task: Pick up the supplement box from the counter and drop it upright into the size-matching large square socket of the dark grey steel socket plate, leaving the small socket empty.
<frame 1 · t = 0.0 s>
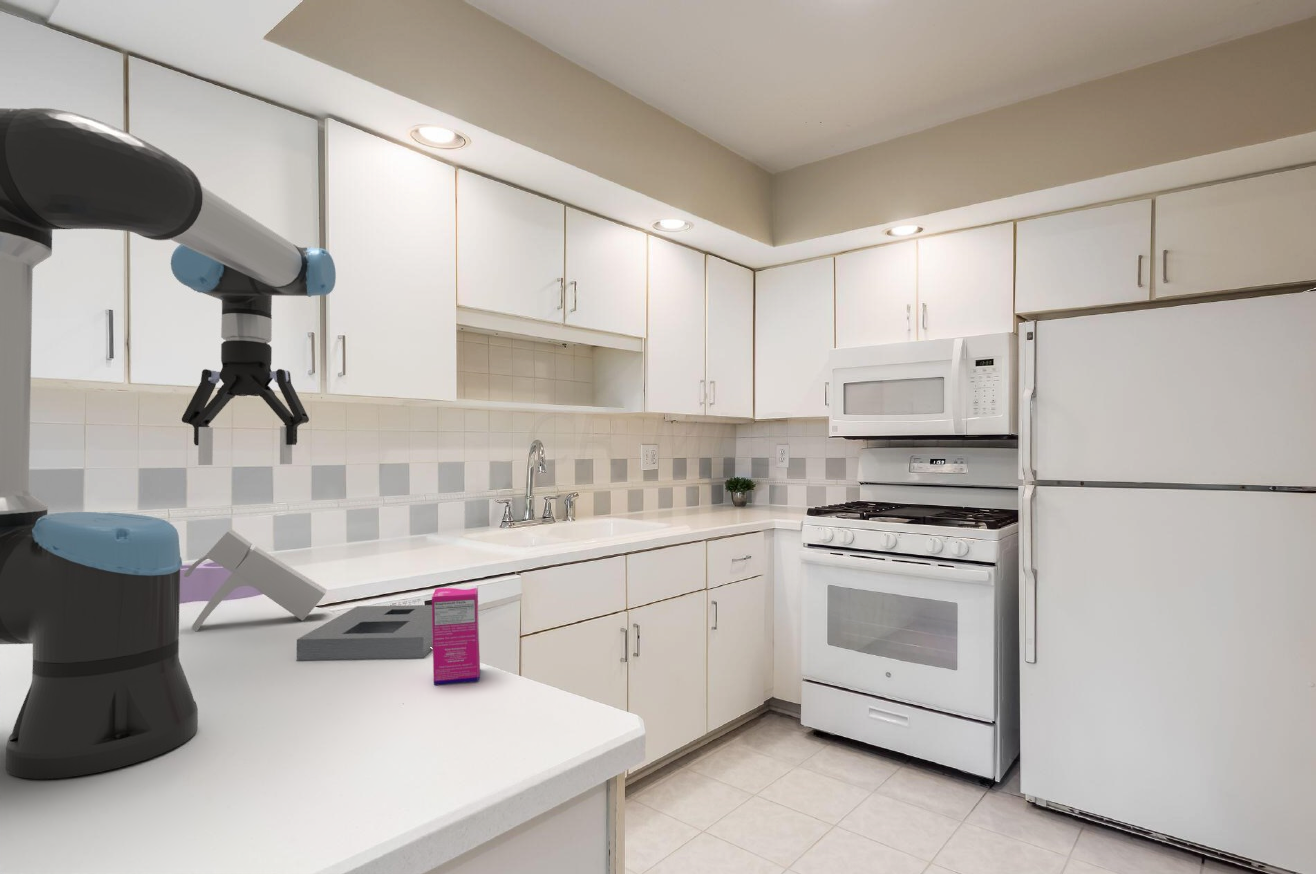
hand: (245, 464, 119), 28 cm above the worktop, tool pointing down, fingers open, 13 cm apart
clip: (215, 598, 146), on the worktop
supplement box: (456, 678, 91), on the worktop
socket plate: (387, 639, 110), on the worktop
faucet: (258, 624, 122), on the worktop
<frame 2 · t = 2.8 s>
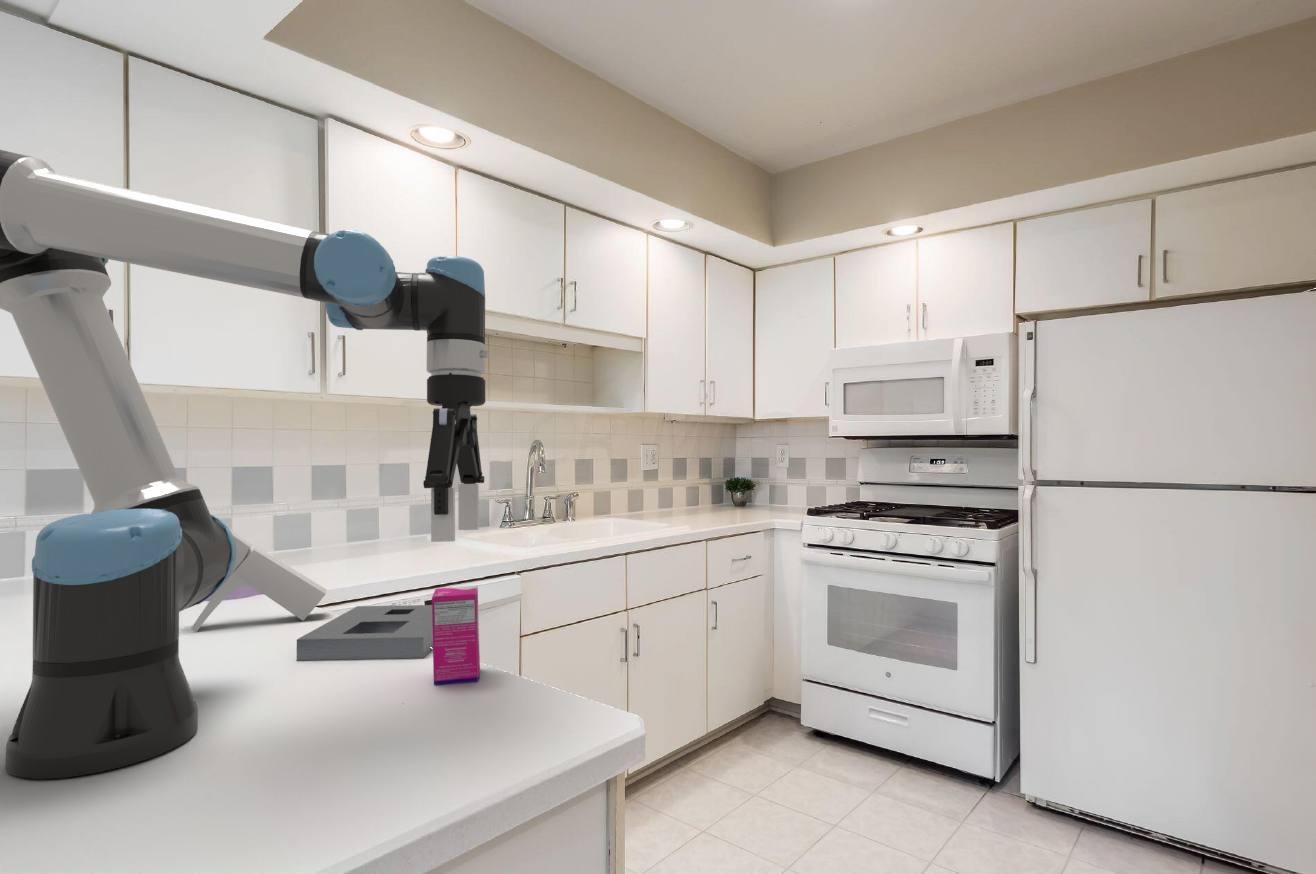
hand: (456, 535, 92), 19 cm above the worktop, tool pointing down, fingers open, 13 cm apart
nothing on the worktop moved.
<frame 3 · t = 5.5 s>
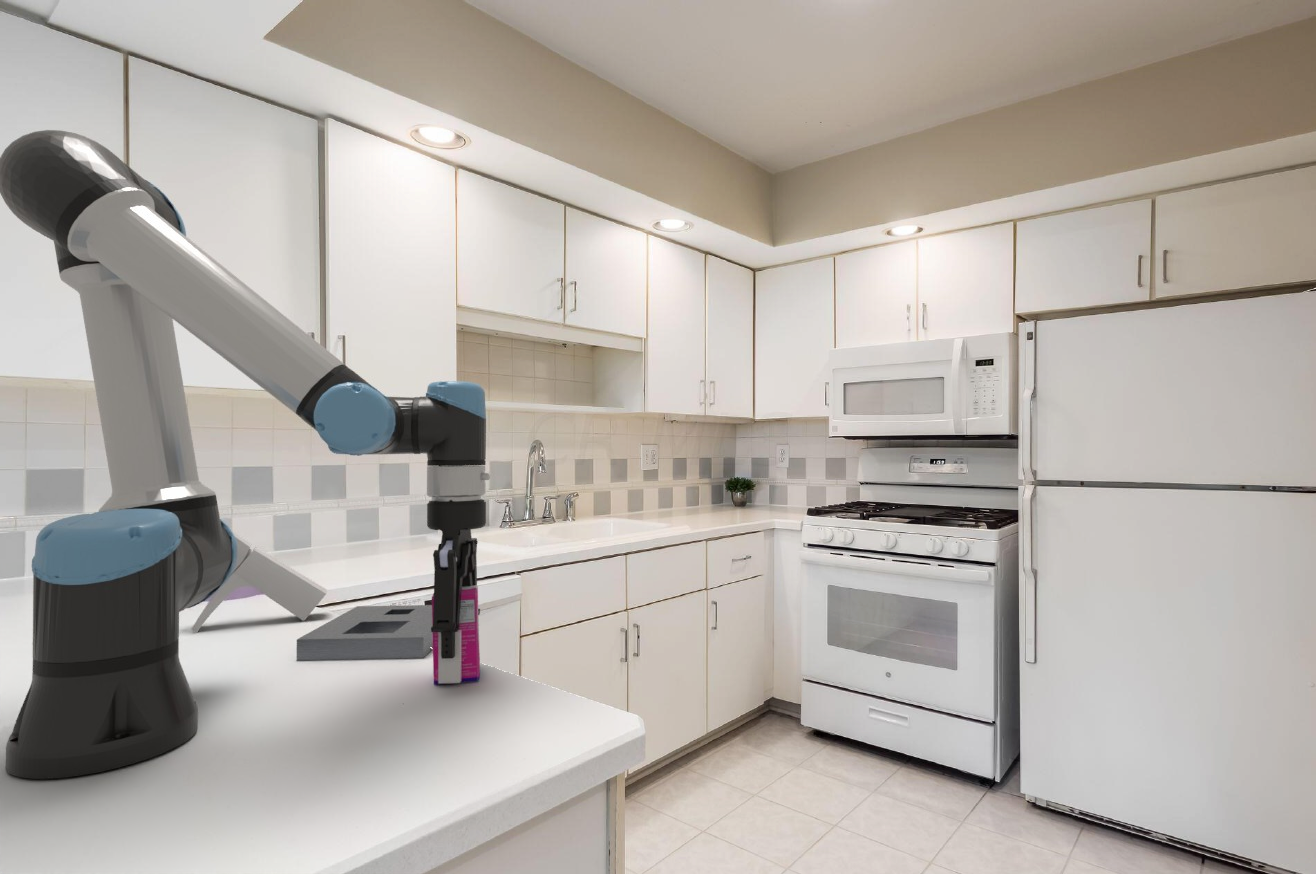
hand: (456, 673, 91), 0 cm above the worktop, tool pointing down, fingers closed on supplement box, 6 cm apart
supplement box: (456, 678, 91), on the worktop, touching gripper
everything else where it was.
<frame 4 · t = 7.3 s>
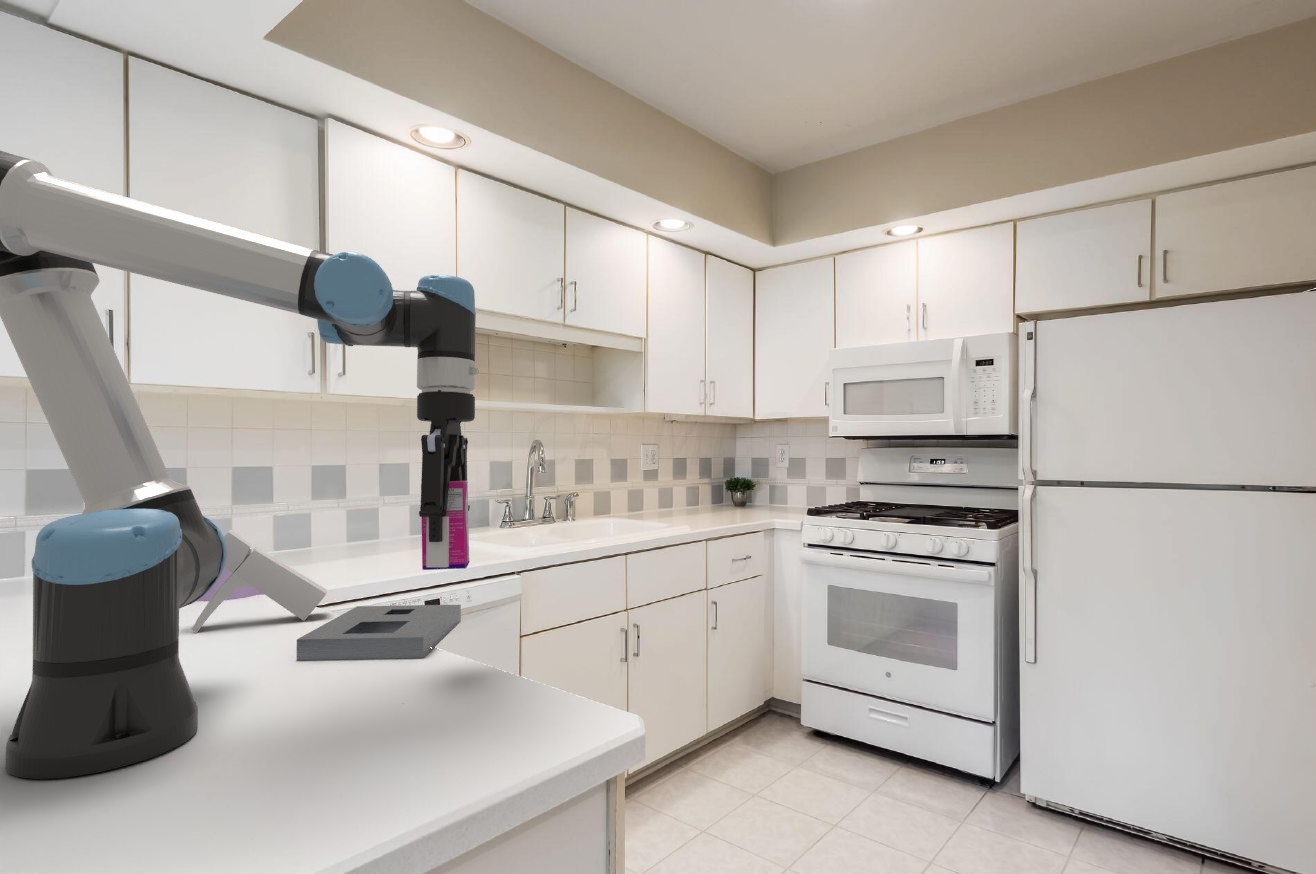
hand: (445, 562, 93), 15 cm above the worktop, tool pointing down, fingers closed on supplement box, 6 cm apart
supplement box: (445, 567, 93), point 14 cm above the worktop, touching gripper
everything else where it was.
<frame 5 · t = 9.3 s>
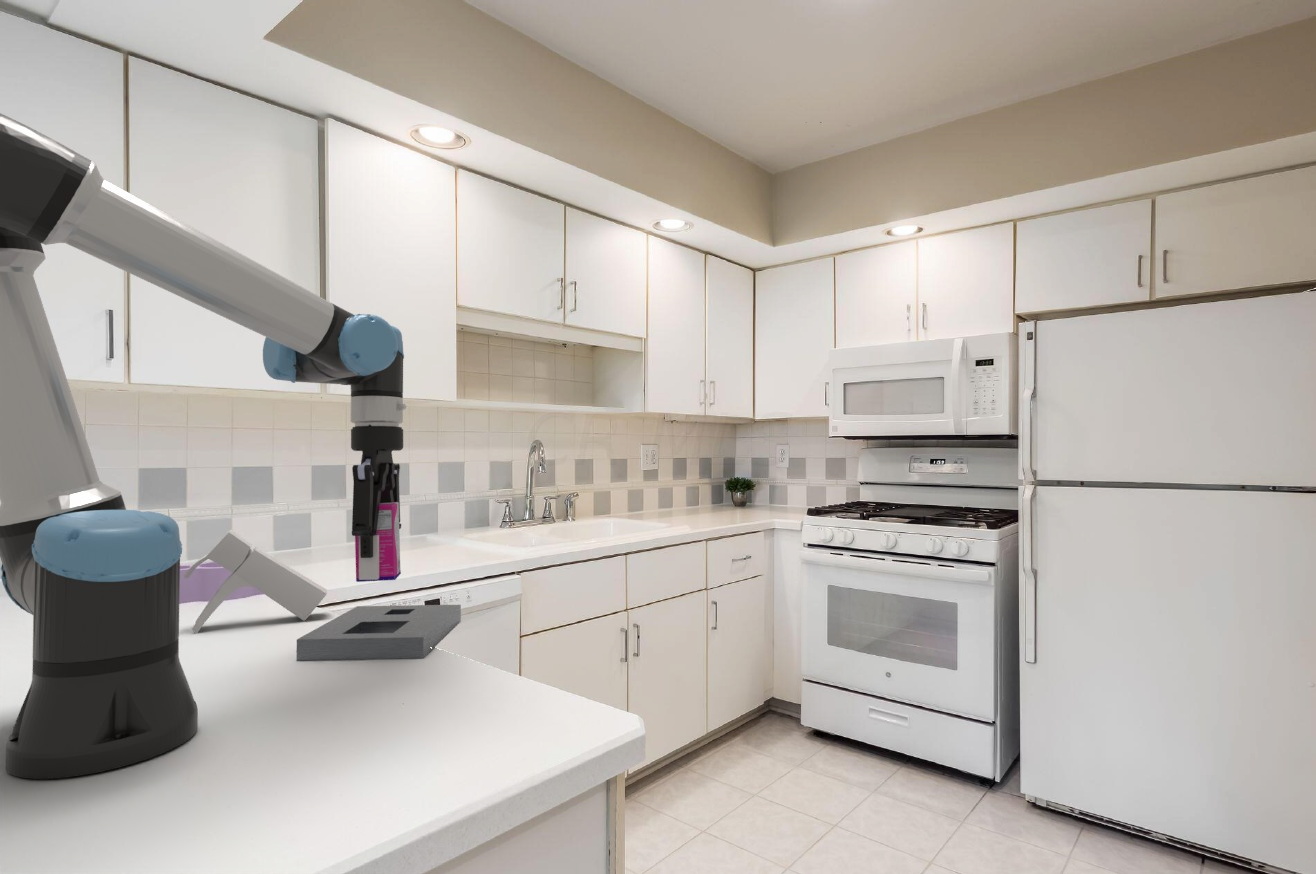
hand: (377, 574, 106), 11 cm above the worktop, tool pointing down, fingers closed on supplement box, 6 cm apart
supplement box: (378, 579, 106), point 10 cm above the worktop, touching gripper
everything else where it was.
when the fingers open (5 cm above the worktop, at t = 10.9 s): supplement box drops 5 cm, resting in socket plate.
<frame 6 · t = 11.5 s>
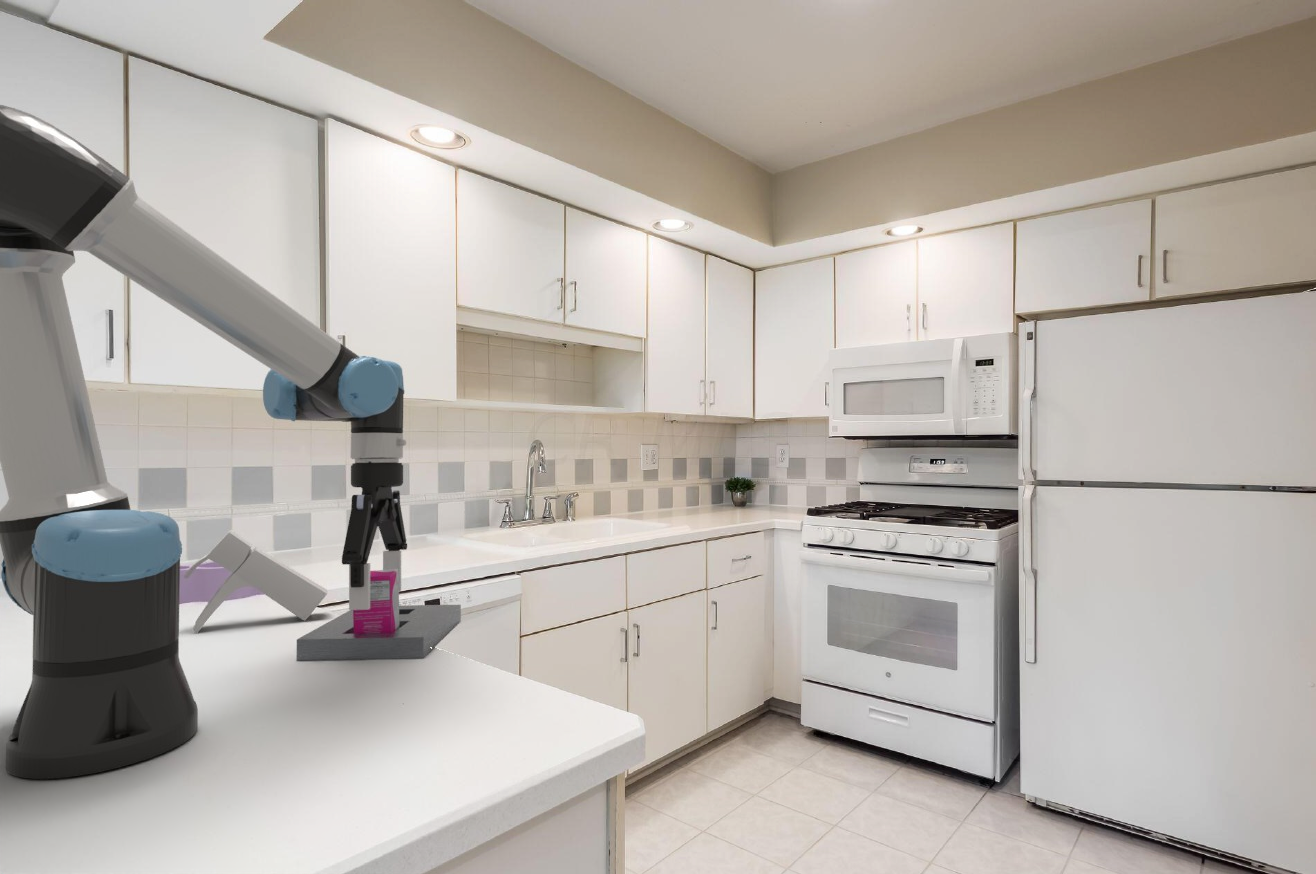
hand: (376, 599, 106), 7 cm above the worktop, tool pointing down, fingers open, 13 cm apart
supplement box: (376, 648, 106), resting in socket plate
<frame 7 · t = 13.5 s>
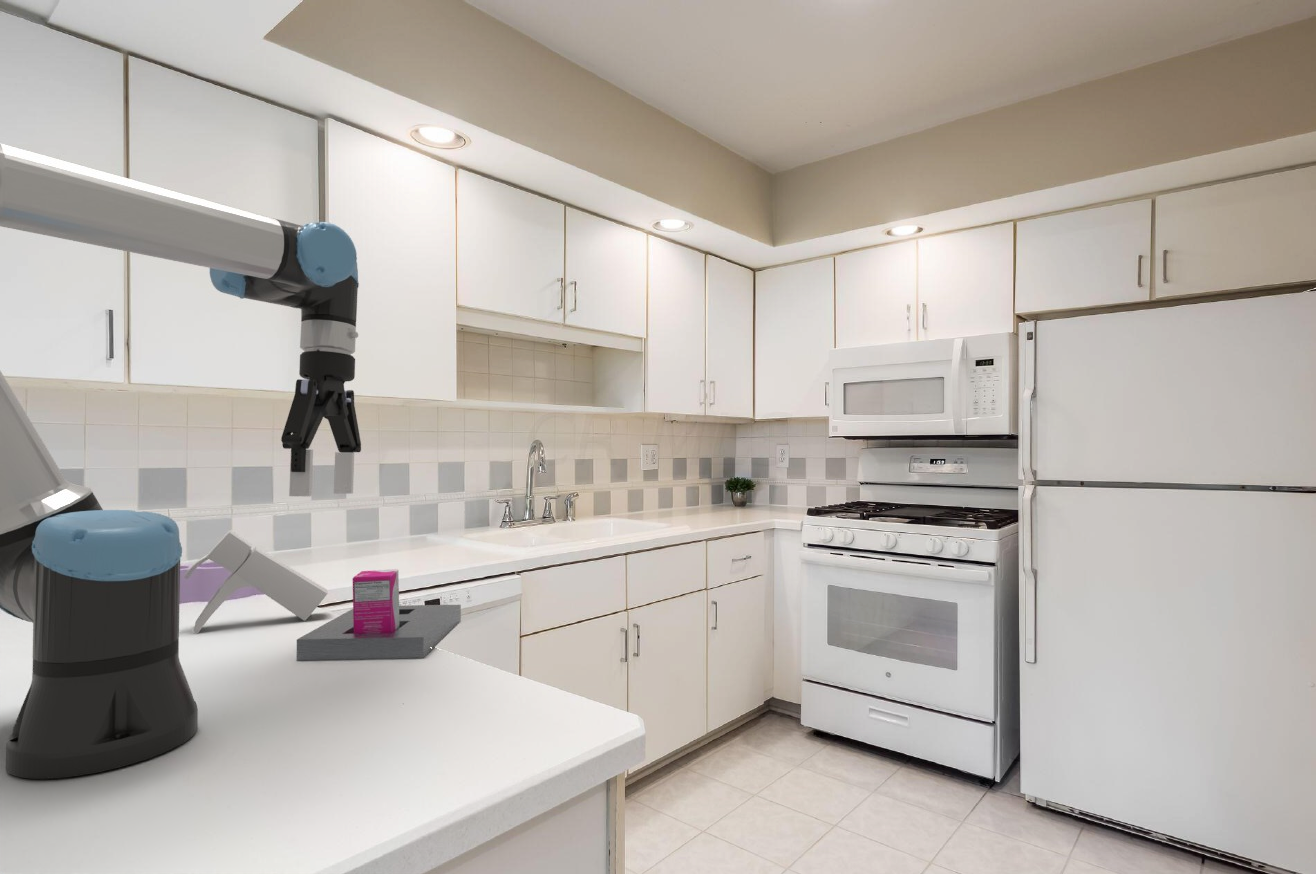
hand: (323, 495, 103), 24 cm above the worktop, tool pointing down, fingers open, 13 cm apart
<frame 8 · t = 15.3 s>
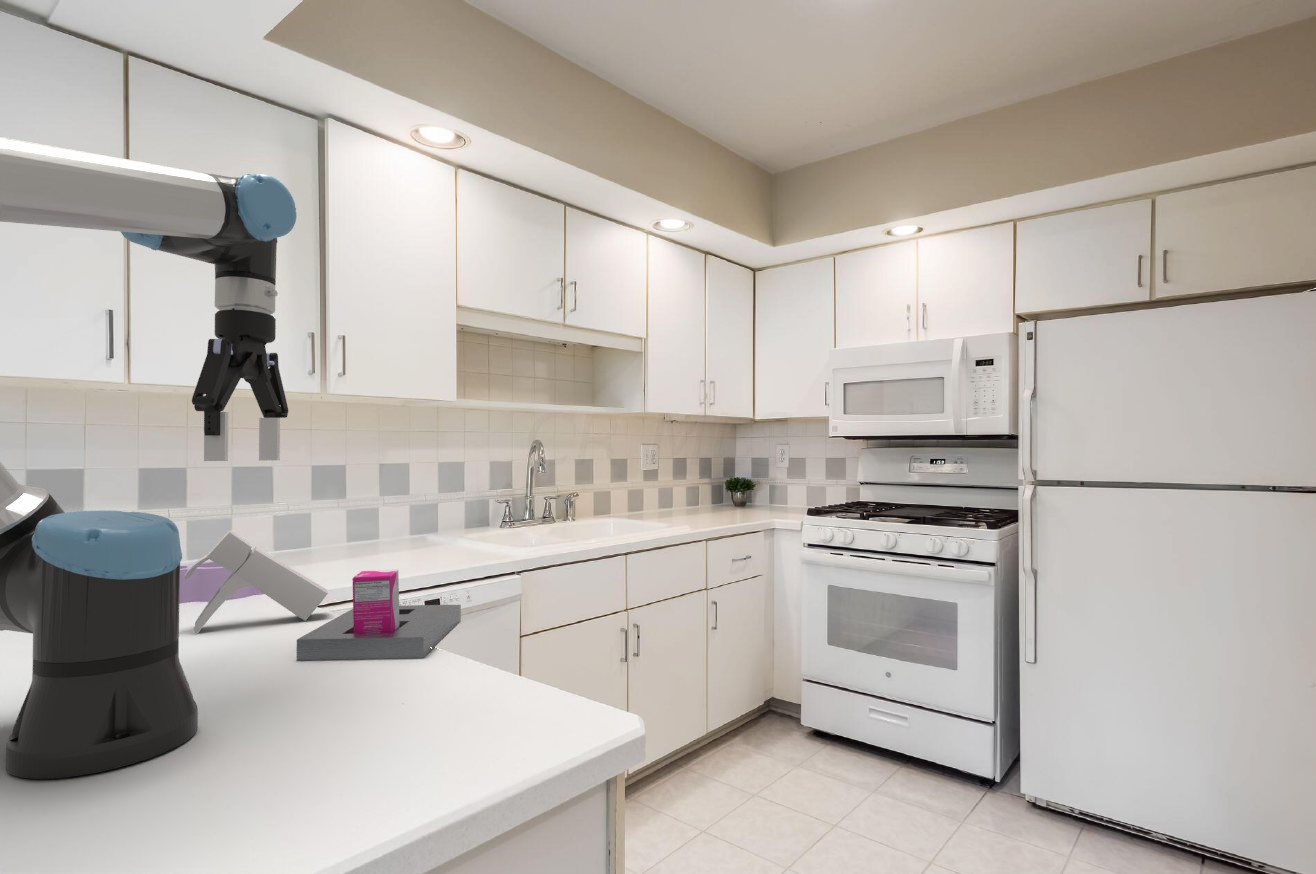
hand: (244, 461, 99), 29 cm above the worktop, tool pointing down, fingers open, 13 cm apart
at the end: supplement box 0.1 cm from the target spot on the socket plate, point 0.0 cm above the socket plate's base; supplement box tilted 0°; the gripper is holding nothing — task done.
